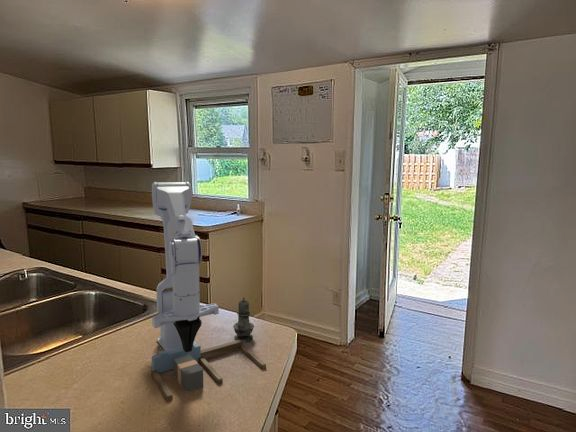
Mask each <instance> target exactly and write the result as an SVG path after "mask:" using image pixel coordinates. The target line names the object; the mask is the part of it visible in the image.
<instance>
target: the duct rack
mask: <svg viewBox="0 0 576 432" xmlns="http://www.w3.org/2000/svg"><path fill="white" fill-rule="evenodd" d="M242 343H243V342H241V341H240V340H233V341H231V342H227V343H222V344H220V345H215V346H212V347H209V348H205V349H201V348H202V347H201V345H200V343H196V344H195V345H193V347H192V351H190V352H185V351H184V350H183V348H180V349H176V350H172V351H169V352H167V351H166V350H164V349H163V350H159V351H158V353H157V354H153V355H151V369H152V370H151V376H152V378H153V379H154V381H155V383H156V384H157V386H158V387H159V389H160V390H161V392H162V394H163V396H164V397H165V399H166V400H167V402H169V401H171V400H173V393H172V392H171V391H170V389H169V388H168V386H167V384H166V383H165V381H164V380H163V378H162V376H161V375H160V374H159V373H163V372H164V373H165V372H167V371H170V370H174V366H173V359H175V358H179V357H183V356H186V355H191V356H192V357H193V359H194V360H196V362H197V363H200V365H202V367H203V368H204V369H205V370H206V372H208V374H210V376H211V377H212V378H213V379H214V380H215V381H216V382H217V383H218V384H219V385H220V384H222V383H223V381H224V379H223V377H222V375H220V374H219V373H218V372H217V370H216V369H214V367H213V366H212V364H210V363H209V362H208V359H211V358H212V359H213V358H215V357H218V356H222V355H225V354H229V353H232V352H236V351H239V350H240V351H241V352H242V353H243V354H245V356H247V357H248V358H249V359H250V360H251V361H253V363H255V364H256V365H257V366H259V367H260V368H261V369H266V368H267V364H266V363H265V362H264V361H263V360H262V359H261V358H260V357H258V356H257V355H256V354H255V353H254V352H252V351H251V350H250V349H249V348H248V347H247V346H245V345H244V344H242Z"/></svg>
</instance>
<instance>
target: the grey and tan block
mask: <svg viewBox="0 0 576 432" xmlns="http://www.w3.org/2000/svg"><path fill="white" fill-rule="evenodd" d="M173 366H174V369H173V377H174V378H175V379H176V380H177V383H179V385H180V386H181V387H182V389H183V390H184V392H185V393H187V392H191V391H193V390H197V389H199V388H203V387H204V369H203V368H202V367H201V364H199V362H196V360H194V359H193V357H192V356H191V355H186V356H183V357H179V358H175V359H173Z"/></svg>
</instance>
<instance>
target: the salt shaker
mask: <svg viewBox="0 0 576 432" xmlns="http://www.w3.org/2000/svg"><path fill="white" fill-rule="evenodd" d="M249 307H250V303H249V301H248V300H246V297H242V300H239V302H238V312H236V313H237V315H238V316H237V317H238V319H237V322H236V323H234V324H233V326H232V327H233V330H234V332H235V334H236V335H235V336H234V338H233V339H234V341H236V340H240V341H241V342H242V343H249V342H251V341H253V339H254V336H253V334H252V333H253V331H254V328H255V325H254V324H253V322H250V314H251V312H250V309H249Z"/></svg>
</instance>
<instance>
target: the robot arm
mask: <svg viewBox="0 0 576 432" xmlns="http://www.w3.org/2000/svg"><path fill="white" fill-rule="evenodd" d="M192 199H193V191H192V185H191V183H190V182H189V181H184V182H183V181H181V182H179V181H176V182H173V181H172V182H167V181H166V182H165V181H164V182H163V181H161V182H157V181H154V182H153V183H152V184H151V201H152V211H153V215H156V216H157V217H158V216H159V217H160V218H161V222H162V224H163V239H164V253H165V255H164V256H165V270H166V277H165V278H164V279H163V280H161V281H160V282H159V283H158V285H157V286H156V294H155V296H156V298H155V299H156V310H157V315H154V316H152V320H151V322H152V326H153V328H154V329H157V328H158V329H159V330H160V331H159V335H160V337H157V338H156V341H157V342H158V343H159V345H160V346H161V347H162V349H163V350H166V351H167V352H169V351H172V350H176V349H180V348H183V350H184V351H185V352H190V351H192V347H193V345H195V344H197V343H196V342H195V339H196V336H197V335H198V331H199V330H200V328H201V326H202V324H203V323H202V320H201V318H202V317H205V316H210V315H214V316H215V315H219V311H220V308H219V305H218V304H217V303H210V304H209V303H208V304H200V296H201V295H200V264H201V263H202V261H203V259H202V258H203V247H202V242H201V238H200V237H199V236H198V234H196V233H195V229H194V224H193V221H192V219H191V218H190V217H188V216H187V214H189V211H190V207H191V203H192ZM165 289H166V290H165Z"/></svg>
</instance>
